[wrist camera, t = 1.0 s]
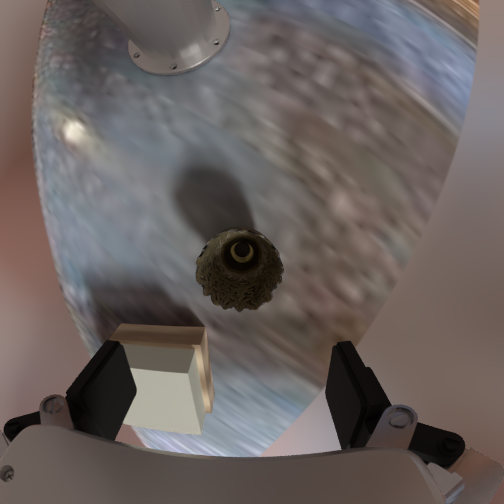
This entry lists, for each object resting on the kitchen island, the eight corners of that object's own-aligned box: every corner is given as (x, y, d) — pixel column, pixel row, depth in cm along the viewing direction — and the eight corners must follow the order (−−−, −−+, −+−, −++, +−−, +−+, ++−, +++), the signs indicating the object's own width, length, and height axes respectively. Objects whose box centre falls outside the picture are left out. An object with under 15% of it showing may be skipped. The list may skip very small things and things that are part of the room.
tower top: (112, 342, 29) (96, 362, 25) (195, 349, 29) (187, 373, 25) (132, 402, 32) (123, 423, 28) (205, 410, 32) (201, 435, 28)
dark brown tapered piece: (252, 292, 32) (252, 326, 24) (197, 259, 31) (180, 285, 23) (288, 239, 30) (300, 260, 23) (231, 203, 29) (224, 212, 21)
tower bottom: (122, 321, 34) (108, 338, 29) (206, 325, 34) (200, 344, 29) (141, 385, 37) (132, 404, 32) (214, 391, 37) (211, 412, 32)
